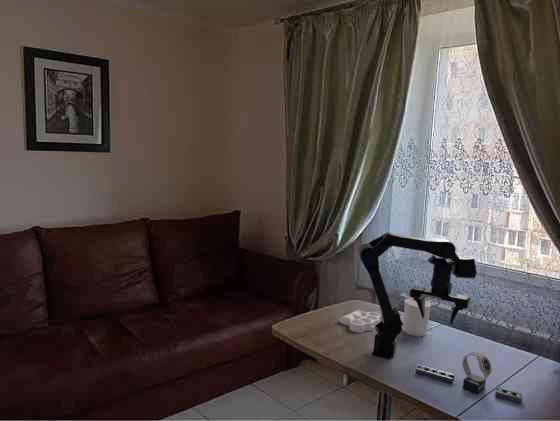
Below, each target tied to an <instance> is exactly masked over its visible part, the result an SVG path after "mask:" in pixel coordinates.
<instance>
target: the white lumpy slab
mask: <svg viewBox="0 0 560 421" xmlns="http://www.w3.org/2000/svg"><path fill="white" fill-rule="evenodd" d="M338 321H339V322H340V323H341V324H342V325H346V326H348V329H349V330H350V331H351V332H354V333H361V334H362V333H364V332H367V331H373V330H374V329H375V330H376V328H375V326H376V325H377V324H378V323H379V322H381V321H382V320H381V312H380V313H379V312H377V311H364V310H359V309H357V310H355V311H352V312H350V313H348V314H345V315H344V316H341V317H339V319H338Z"/></svg>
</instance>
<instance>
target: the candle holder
mask: <svg viewBox="0 0 560 421" xmlns="http://www.w3.org/2000/svg"><path fill="white" fill-rule="evenodd" d="M431 306H432V303H431V302H430V301H428V300H426V299H425V316H424V318H422V315H421V312H420V309H419V307H418V305H417V302H416V301H415V300H413V298H412V297H408V298H406V299H405V300H404V311H403V312H404V315H403V316H404V319H403V331H404V332H405V333H406V334H407V335H410V336H413V337H423V336H426V334H427V331H428V324H429V319H430V313H431Z"/></svg>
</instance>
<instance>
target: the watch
mask: <svg viewBox="0 0 560 421" xmlns="http://www.w3.org/2000/svg"><path fill="white" fill-rule="evenodd" d="M470 356H472V357H473V356H474V357H476V359H477V361H478V367H479V370H480V372H481V373H482V374H483V377H482V376H479V375H477V374H475V373H472V370H471V368H470V366H469V363H468V357H470ZM461 364H462V369H463V371H464V374H465V376H466V377H465V378H463V384H462V390H465V391H467V392H468V393H470V394H474V395H476V396H478V395H479V394H480V393H481V392H483V391H484V390H485V389H486V382H487V381H486V380H487V379H488V378H489V376H490V375H491V373H492V364H491V361H490V359H489V358H488V357H486V356H485V355H484V354H482V353H480V352H476V351H472V352H469V353H467V354H466V355H464V356H463V359H462V362H461Z"/></svg>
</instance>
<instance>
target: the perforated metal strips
mask: <svg viewBox="0 0 560 421" xmlns="http://www.w3.org/2000/svg"><path fill="white" fill-rule="evenodd" d="M415 375H418V376H422V377H425V378H429V379H431V380H435V381H439V382H442V383H446V384H447V385H448V384H449V385H453V381H454V380H455V374H453V373H450V372H447V371H443V370H440V369H435V368H432V367H428V366H424V365H421V364H418V365H417V367H416V368H415ZM494 397H495V398H496V399H500V400H503V401H507V402H511V403H514V404H516V405H521V404H522V401H523V393H521V392H517V391H513V390H510V389H507V388H504V387H499V386H496V390H495V395H494Z"/></svg>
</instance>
